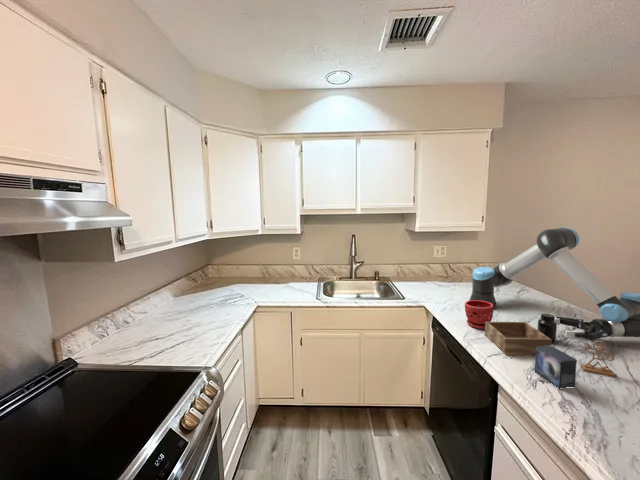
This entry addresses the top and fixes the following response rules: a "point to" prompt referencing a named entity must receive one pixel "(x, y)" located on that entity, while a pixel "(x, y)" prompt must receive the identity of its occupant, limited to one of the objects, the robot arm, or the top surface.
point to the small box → (555, 366)
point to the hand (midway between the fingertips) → (554, 327)
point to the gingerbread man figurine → (597, 369)
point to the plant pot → (478, 313)
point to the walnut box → (515, 337)
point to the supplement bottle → (548, 326)
